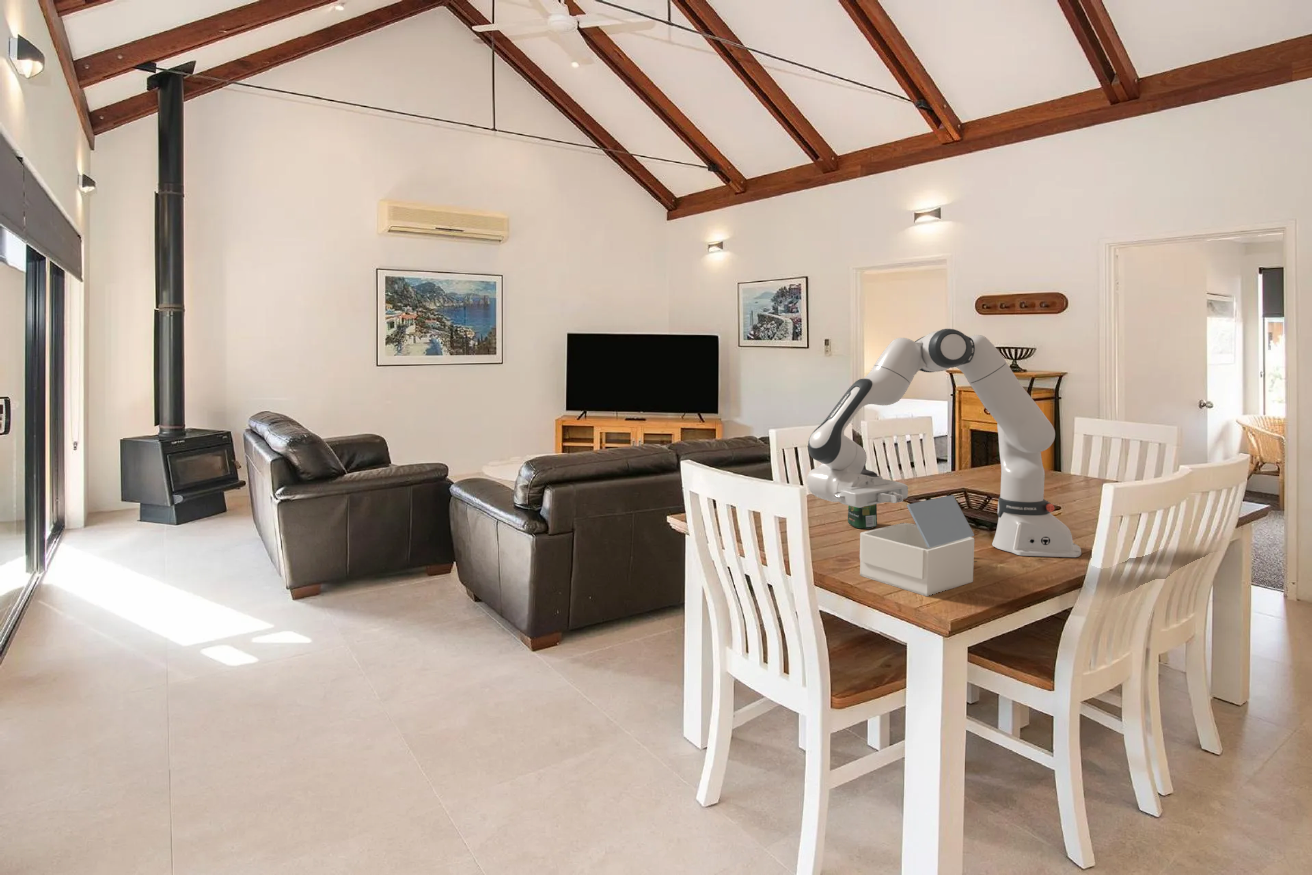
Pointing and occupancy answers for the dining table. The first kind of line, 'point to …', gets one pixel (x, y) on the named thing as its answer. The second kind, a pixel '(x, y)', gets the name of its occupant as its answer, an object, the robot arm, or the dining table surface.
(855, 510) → the coffee jar
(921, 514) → the lid flap
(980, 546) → the dining table surface
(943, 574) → the carton
